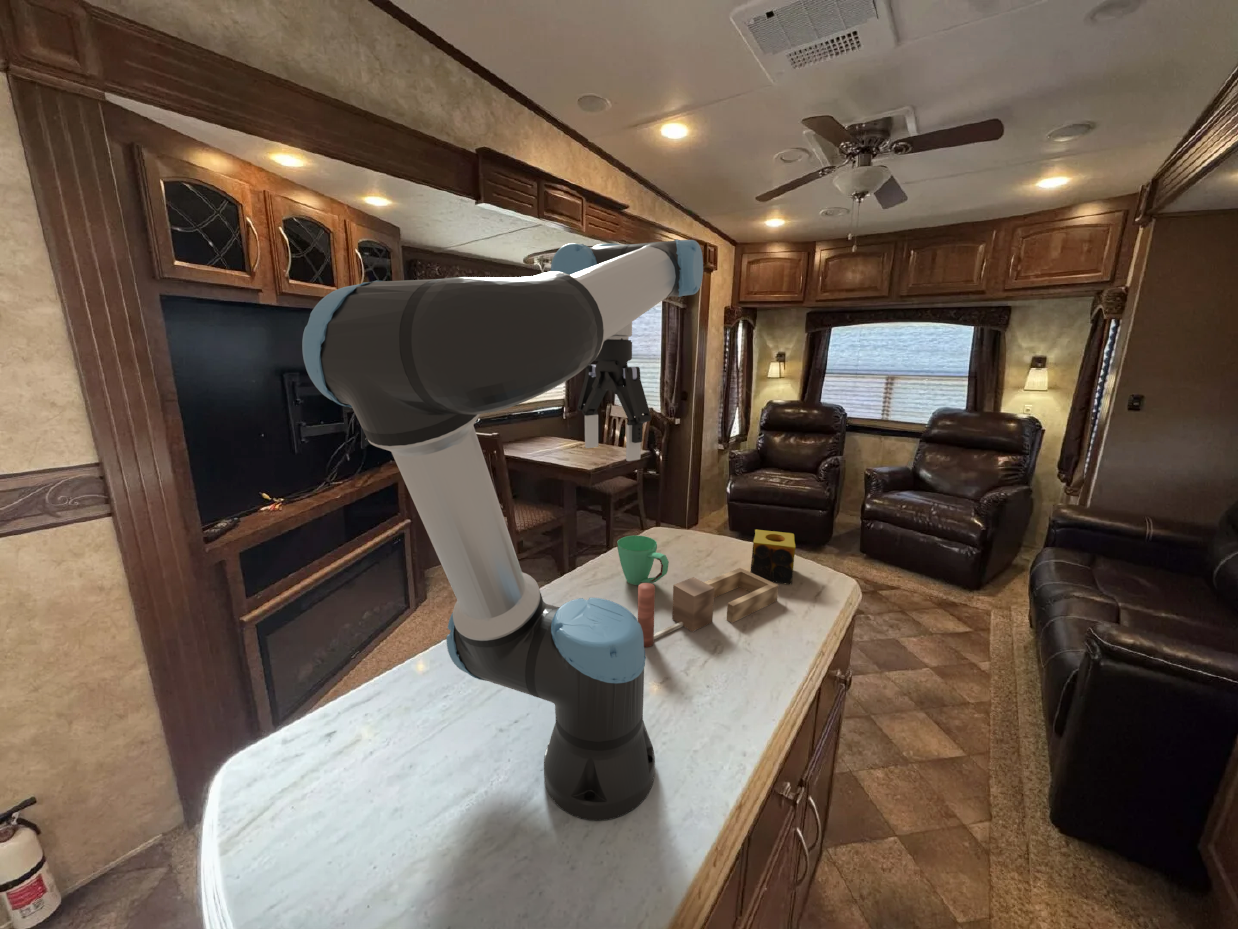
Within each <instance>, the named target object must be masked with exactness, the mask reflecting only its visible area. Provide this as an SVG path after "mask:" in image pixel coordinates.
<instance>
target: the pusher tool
mask: <svg viewBox="0 0 1238 929" xmlns="http://www.w3.org/2000/svg"><path fill="white" fill-rule="evenodd" d="M704 582H705V581H702V580H700V579H698V578H697V577H694V576H693V577H690V578H688V579H685V580H682V581H679V582H676V583H674V584H673V585H672V586H673V589H672V613H671V614H672V616H671V620H673V621H675V622H676V623H674V624H673V625H670V626H668V627H665V628H663V629H662V630H660V631H657V632H656V633H655V608H656V607H655V605H656V604H655V600H656V598H655V597H656V596H655V595H656V586H655V585H654V584H653V583H641V584H640V585H637V586H638V587H637V622H639V624H640V625H641V628H642V631H643V638H644V648H650V647H653V645H654V641H655V640H656V639H658V638H661V637H663V636H665V635H667V634H670V633H672V632H674V631H676V630H678V629H680V628H682V627H684V628H685V629H686V630H689V631H690V632H691V633H692V632H695V631H697V630H699V629H701V628H704V627H705V626H708V625H710V624H712V623H713V621H714V620H713V618H714V613H713V612H714V604H715V603H714V602H715V598H714V587H712V586H710V585H708V584H706V583H704Z"/></svg>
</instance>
